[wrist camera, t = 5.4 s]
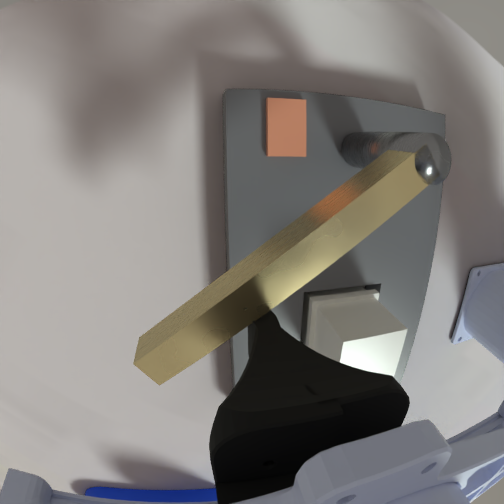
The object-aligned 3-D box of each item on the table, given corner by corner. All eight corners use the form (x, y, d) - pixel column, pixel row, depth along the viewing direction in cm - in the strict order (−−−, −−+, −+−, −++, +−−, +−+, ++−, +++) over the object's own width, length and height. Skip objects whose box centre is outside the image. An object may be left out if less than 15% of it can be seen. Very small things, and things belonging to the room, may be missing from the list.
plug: (361, 277, 21) (413, 323, 15) (348, 354, 24) (386, 409, 18) (299, 283, 21) (338, 338, 15) (294, 363, 23) (321, 426, 17)
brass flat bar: (378, 155, 16) (457, 168, 10) (171, 311, 17) (164, 389, 11) (361, 125, 16) (438, 124, 10) (147, 286, 17) (127, 359, 11)
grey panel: (426, 115, 18) (448, 114, 16) (388, 375, 26) (400, 391, 23) (222, 94, 16) (226, 87, 14) (234, 403, 23) (237, 425, 21)
